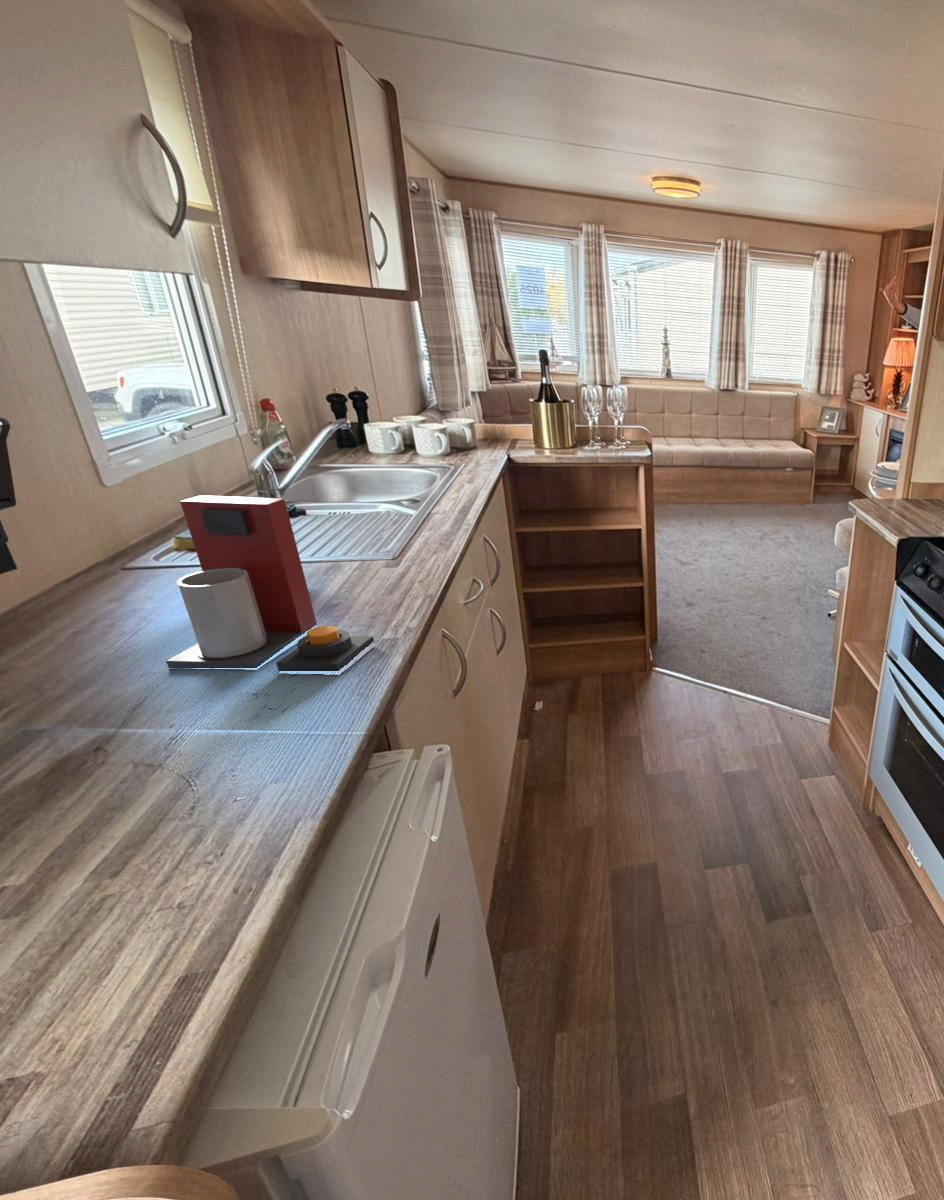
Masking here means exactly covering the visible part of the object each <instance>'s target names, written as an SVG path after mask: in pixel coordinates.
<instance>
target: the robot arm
mask: <svg viewBox="0 0 944 1200" xmlns="http://www.w3.org/2000/svg"><path fill="white" fill-rule="evenodd" d="M10 429H11V423H10V422H9V420H8V419H6V418H5V417H0V512H1V511H4V510H6V509H9V508H14V507H15V506H16V505H17V500H16V493H15V487H14V481H13V474H12V467H11V461H10V455H9V449H8V448H9V447H8V443H7V442H8V441H7V440H8V436H9V433H10ZM7 543H9V537H8V534H7V532H6V529H5V527H4V525H3V522H2V520H1V519H0V575H3V574H6V573H8V572H9V573H10V572H13V571H15V570H18V567H17V564H16V561H15V560H14V557H13V555H12V553H11V551H10V548H9V546H8V544H7Z"/></svg>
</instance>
